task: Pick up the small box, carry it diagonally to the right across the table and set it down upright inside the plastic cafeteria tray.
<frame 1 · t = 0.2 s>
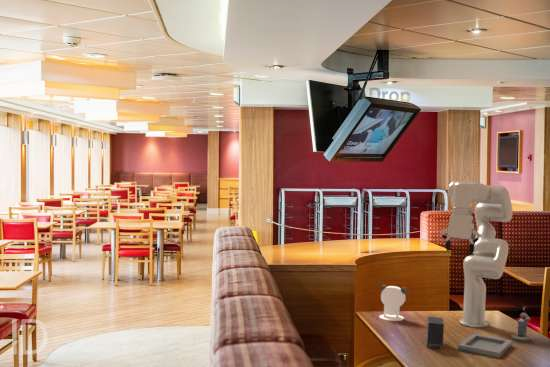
hand: (459, 251, 281), 36 cm above the table, tool pointing down, fingers open, 9 cm apart
figurine: (521, 340, 280), on the table
small box: (434, 345, 269), on the table
tray: (485, 348, 267), on the table
panda figurine: (392, 318, 311), on the table
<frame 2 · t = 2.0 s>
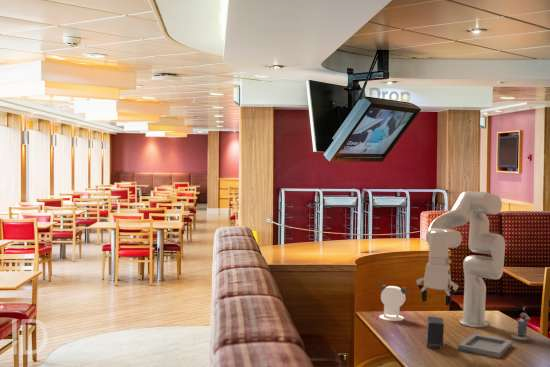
hand: (435, 303, 268), 17 cm above the table, tool pointing down, fingers open, 9 cm apart
nothing on the table moved.
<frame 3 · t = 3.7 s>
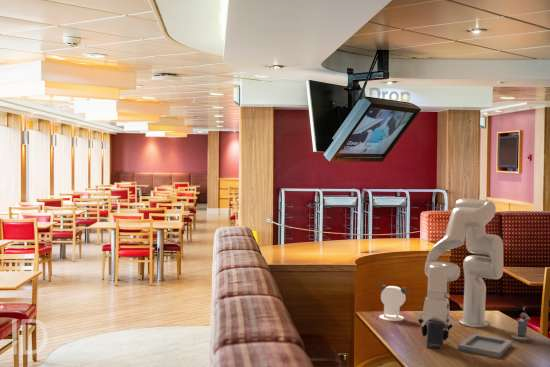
hand: (434, 337, 269), 3 cm above the table, tool pointing down, fingers closed on small box, 8 cm apart
small box: (434, 345, 269), on the table, touching gripper
everything else where it was.
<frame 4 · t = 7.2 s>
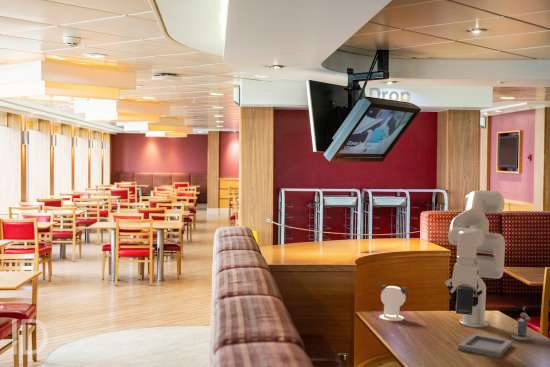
hand: (464, 303, 267), 18 cm above the table, tool pointing down, fingers closed on small box, 8 cm apart
small box: (463, 311, 268), point 14 cm above the table, touching gripper
everything else where it was.
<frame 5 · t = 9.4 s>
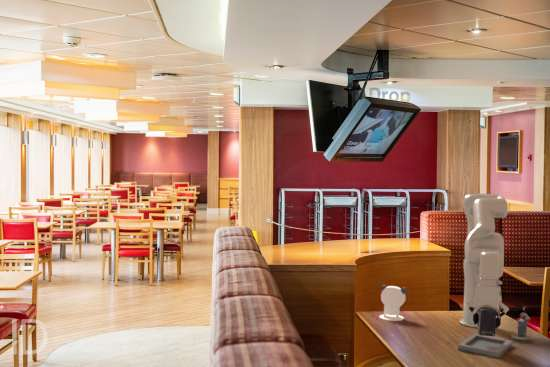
hand: (486, 325, 266), 9 cm above the table, tool pointing down, fingers closed on small box, 8 cm apart
small box: (486, 333, 266), point 6 cm above the table, touching gripper
everything else where it was.
when the fingers open (5 cm above the table, at t = 10.9 s): small box stays where it is, resting on tray.
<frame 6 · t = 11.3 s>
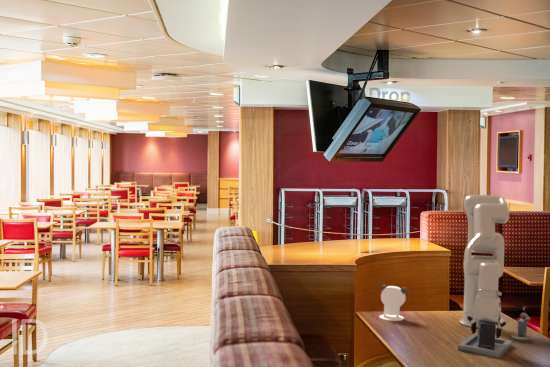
hand: (485, 335, 267), 5 cm above the table, tool pointing down, fingers open, 9 cm apart
small box: (485, 346, 267), point 1 cm above the table, touching tray
everything else where it was.
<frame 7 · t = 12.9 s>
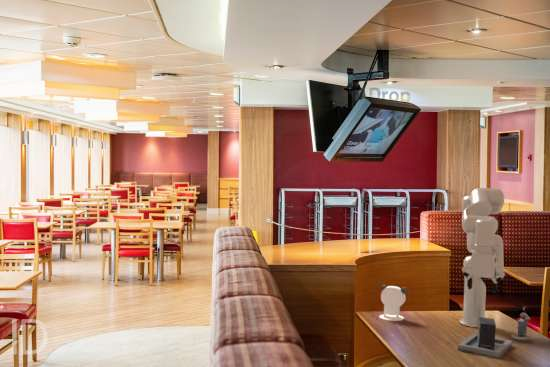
hand: (481, 290, 270), 22 cm above the table, tool pointing down, fingers open, 9 cm apart
nothing on the table moved.
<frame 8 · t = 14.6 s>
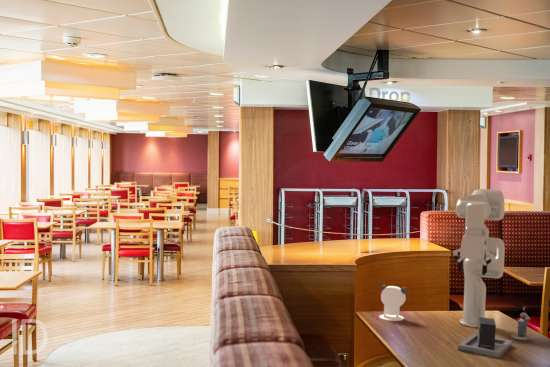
hand: (472, 273, 277), 28 cm above the table, tool pointing down, fingers open, 9 cm apart
nothing on the table moved.
at the end: small box inside the target area on the tray (0.2 cm from its centre), point 0.6 cm above the tray's base; small box tilted 0°; the gripper is holding nothing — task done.
